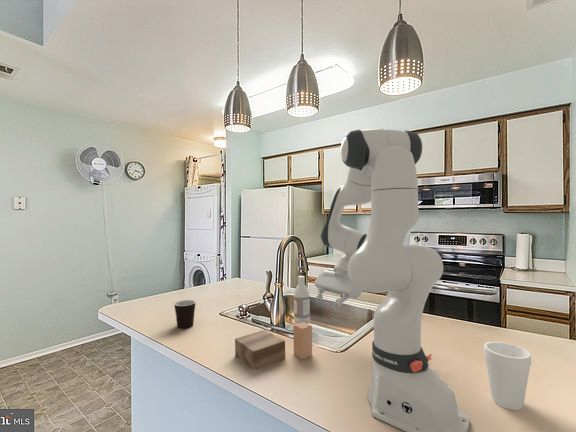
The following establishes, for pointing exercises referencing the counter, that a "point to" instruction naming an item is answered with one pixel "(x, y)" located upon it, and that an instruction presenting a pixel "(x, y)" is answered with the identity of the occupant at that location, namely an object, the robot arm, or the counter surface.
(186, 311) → the coffee mug
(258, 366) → the walnut block
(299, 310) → the bath foam
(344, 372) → the counter surface
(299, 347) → the light wooden block
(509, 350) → the foam cup
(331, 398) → the counter surface
